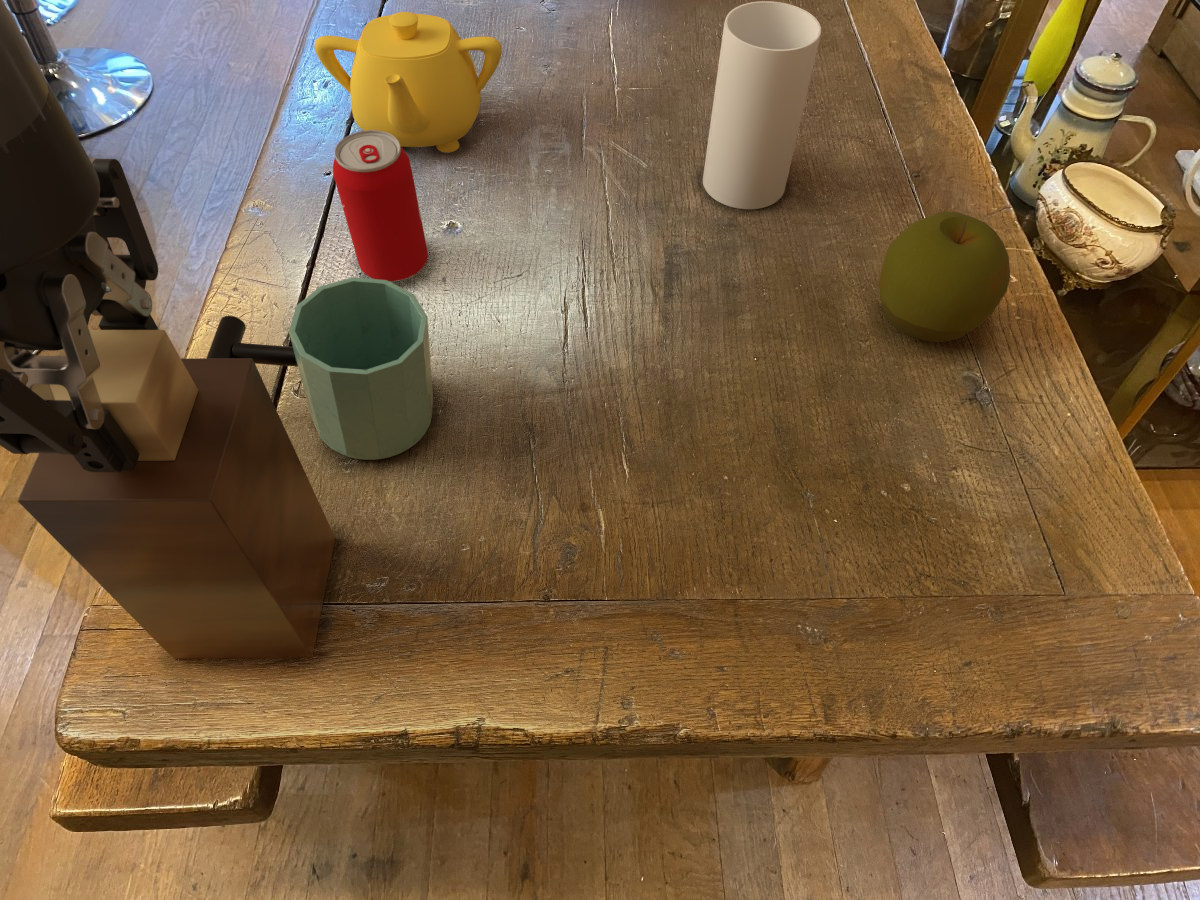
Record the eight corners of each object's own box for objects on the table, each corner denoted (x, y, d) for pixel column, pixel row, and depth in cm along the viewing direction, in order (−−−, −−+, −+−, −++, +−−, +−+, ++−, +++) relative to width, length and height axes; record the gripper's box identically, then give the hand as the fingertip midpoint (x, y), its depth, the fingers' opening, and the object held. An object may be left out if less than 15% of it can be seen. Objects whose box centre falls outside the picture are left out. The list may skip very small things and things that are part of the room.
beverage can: (419, 235, 80) (397, 119, 70) (436, 278, 77) (415, 163, 67) (353, 250, 79) (321, 134, 69) (367, 294, 75) (336, 180, 66)
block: (175, 461, 42) (136, 403, 38) (81, 461, 41) (32, 402, 38) (199, 390, 44) (164, 329, 40) (111, 390, 44) (68, 328, 40)
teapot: (322, 135, 89) (291, 22, 80) (426, 79, 96) (408, -32, 86) (411, 192, 84) (389, 78, 74) (514, 129, 90) (506, 17, 81)
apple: (876, 362, 72) (918, 262, 63) (854, 282, 77) (889, 180, 68) (994, 362, 72) (1053, 262, 63) (963, 282, 78) (1012, 180, 69)
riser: (312, 658, 56) (210, 500, 40) (172, 659, 55) (16, 501, 40) (335, 537, 61) (253, 357, 46) (208, 538, 61) (81, 357, 45)
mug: (214, 450, 63) (176, 360, 55) (244, 359, 69) (213, 265, 61) (424, 463, 65) (417, 377, 57) (438, 373, 70) (432, 283, 62)
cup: (687, 171, 86) (706, 13, 74) (755, 150, 89) (785, -7, 76) (731, 218, 82) (759, 59, 69) (801, 195, 85) (841, 37, 72)
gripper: (-89, -7, 33) (109, 311, 46) (-329, 244, 24) (0, 542, 38) (109, -3, 33) (248, 313, 47) (-62, 248, 24) (170, 544, 38)
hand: (136, 415), depth 42 cm, fingers open, 5 cm apart
